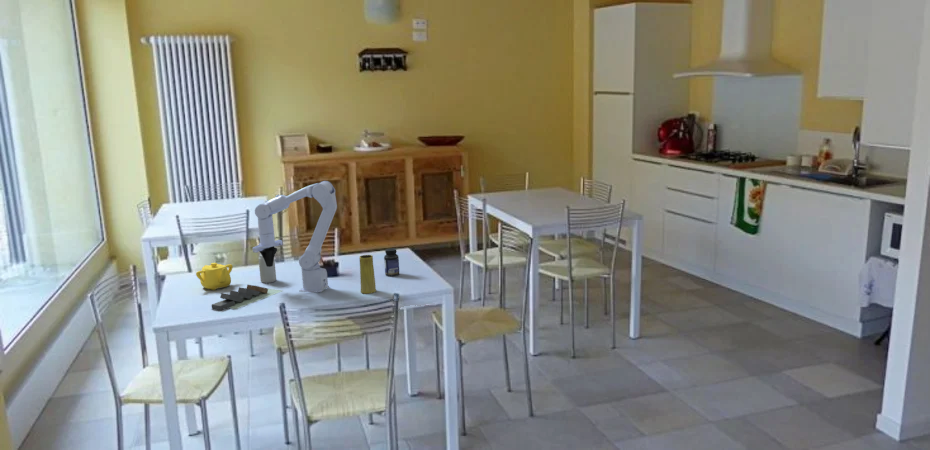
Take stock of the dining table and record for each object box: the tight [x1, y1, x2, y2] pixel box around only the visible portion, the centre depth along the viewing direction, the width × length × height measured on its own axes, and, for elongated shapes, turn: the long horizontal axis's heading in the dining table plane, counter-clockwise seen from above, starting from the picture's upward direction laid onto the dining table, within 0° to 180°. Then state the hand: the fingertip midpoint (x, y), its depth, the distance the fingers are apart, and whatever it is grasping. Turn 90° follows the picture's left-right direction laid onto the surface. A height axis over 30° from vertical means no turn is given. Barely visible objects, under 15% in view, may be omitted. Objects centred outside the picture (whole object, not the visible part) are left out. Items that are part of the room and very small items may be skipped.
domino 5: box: [246, 284, 269, 293], centre depth 279 cm, size 2×4×7 cm
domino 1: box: [211, 299, 235, 312], centre depth 264 cm, size 2×4×7 cm
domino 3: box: [229, 290, 252, 299], centre depth 272 cm, size 2×4×7 cm
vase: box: [359, 254, 377, 295], centre depth 277 cm, size 6×6×14 cm
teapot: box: [195, 262, 233, 291], centre depth 292 cm, size 14×13×10 cm
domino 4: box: [237, 286, 260, 296], centre depth 275 cm, size 2×4×7 cm
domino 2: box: [219, 292, 243, 303], centre depth 268 cm, size 2×4×7 cm
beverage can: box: [257, 253, 277, 284], centre depth 297 cm, size 6×6×12 cm
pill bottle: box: [383, 248, 400, 277], centre depth 301 cm, size 6×6×11 cm
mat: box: [228, 287, 283, 310], centre depth 276 cm, size 25×12×1 cm, turn 151°
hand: (269, 266), depth 284 cm, fingers closed
